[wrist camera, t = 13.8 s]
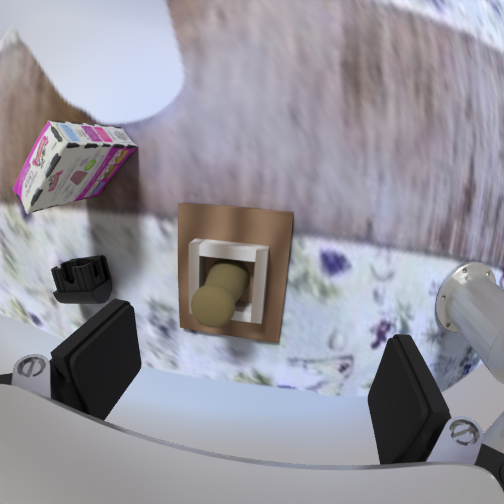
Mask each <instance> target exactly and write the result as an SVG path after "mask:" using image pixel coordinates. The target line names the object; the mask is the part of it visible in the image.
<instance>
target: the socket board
mask: <svg viewBox="0 0 504 504" xmlns="http://www.w3.org/2000/svg"><path fill="white" fill-rule="evenodd" d="M292 222H293V212H288V211H278V210H267V209H257V208H245V207H233V206H221V205H208V204H193V203H179V204H178V288H179V316H180V328H186V329H191V330H197V331H203V332H209V333H215V334H222V335H228V336H235V337H242V338H249V339H257V340H265V341H273V342H278V341H279V334H280V326H281V318H282V311H283V303H284V294H285V286H286V278H287V269H288V260H289V251H290V242H291V232H292ZM221 258H224V259H233V260H240V261H241V262H242V263H244V264H245V266H246V267H247V268H248V270H249V273H250V283H249V286H248V288H247V289H246V290H245V292H244V293H243V294H242V295H241V297H240V298H239V299H238V300H237V302H236V303H235V312H234V315H233V317H232V319H231V320H230V321H229V322H228V323H227V324H225V325H223V326H221V327H216V328H215V327H207V326H205V325H203V324H201V323H200V322H198V321H197V319H196V318H195V317H194V315H193V313H192V310H191V301H192V297H193V295H194V294H195V292H196V291H197V290H198V289H199V288H201V287H202V286H204V284H205V282H206V279H207V277H208V274H209V271H210V269H211V267H212V265H213V264H214V263H215V262H216V261H217V260H219V259H221Z"/></svg>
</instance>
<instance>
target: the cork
mask: <svg viewBox="0 0 504 504" xmlns="http://www.w3.org/2000/svg"><path fill="white" fill-rule="evenodd" d="M249 283H250V273H249V270H248V268H247V267H246V266H245V264H244V263H242V262H241V261H240V260H233V259H224V258H221V259H219V260H217V261H216V262H215V263H214V264H213V265H212V267H211V269H210V271H209V274H208V277H207V279H206V282H205V284H204V286H202V287H201V288H199V289H198V290H197V291H196V292H195V294H194V295H193V297H192V301H191V310H192V313H193V315H194V317H195V318H196V319H197V321H198V322H200V323H201V324H203V325H205V326H207V327H215V328H216V327H221V326H223V325H225V324H227V323H228V322H229V321H230V320H231V319H232V317H233V315H234V312H235V303H236V302H237V300H238V299H239V298H240V297H241V295H242V294H243V293H244V292H245V290H246V289H247V288H248V286H249Z"/></svg>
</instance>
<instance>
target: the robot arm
mask: <svg viewBox="0 0 504 504" xmlns="http://www.w3.org/2000/svg"><path fill="white" fill-rule="evenodd" d="M436 313H437V317H438V319H439V321H440V323H441V324H442V325H443V326H444V328H446V329H447V330H449V331H452V332H460V333H461V334H462V335H463V337H464V338H465V339H466V341H467V342H468V343H469V344H470V346H471V347H472V348H473V350H474V351H475V352H476V354H477V355H478V356H479V358H480V359H481V360H482V362H483V363H484V364H485V366H486V367H487V368H488V370H489V371H490V372H491V374H492V375H493V376H494V378H495V379H496V380H498V381H499V382H501V383H503V384H504V290H503V289H502V288H500V287H499V286H498V285H496V280H495V276H494V274H493V272H492V270H491V269H490V268H489V267H488V266H486V265H485V264H483V263H481V262H477V261H470V262H466V263H464V264H462V265H460V266H458V267H457V268H456V269H454V270H453V271H452V272H451V273H450V274H449V275H448V276H447V278H446V279H445V281H444V282H443V284H442V286H441V288H440V290H439V293H438V296H437V301H436ZM51 356H52V359H51V360H50V361H49V360H48V359H47V358H46V357H45V356H43V355H39V354H32V355H27V356H25V357H22V358H21V359H20V360H18V361H17V362H16V364H15V366H14V368H13V373H10V374H3V375H0V504H504V411H503V413H502V414H501V415H500V416H499V417H498V418H497V419H496V420H495V422H494V423H493V424H492V425H491V426H490V427H489V428H488V429H487V431H486V432H485V433H484V434H483V431H482V428H481V427H480V425H479V424H478V423H477V422H476V421H474V420H473V419H471V418H469V417H465V416H457V417H453V418H452V417H451V415H450V413H449V408H448V406H447V404H446V402H445V400H444V398H443V396H442V394H441V392H440V390H439V388H438V386H437V384H436V382H435V380H434V378H433V376H432V374H431V372H430V370H429V368H428V366H427V365H426V363H425V361H424V359H423V357H422V355H421V353H420V352H419V350H418V348H417V346H416V344H415V343H414V341H413V339H412V337H411V336H410V335H401V334H395V335H394V336H393V338H389V339H388V341H387V344H386V347H385V350H384V353H383V356H382V359H381V362H380V365H379V368H378V370H377V373H376V376H375V378H374V381H373V384H372V386H371V389H370V391H369V394H368V405H369V410H370V414H371V419H372V424H373V429H374V434H375V438H376V443H377V449H378V454H379V460H380V465H347V466H346V465H341V466H340V465H338V466H336V465H306V464H292V463H280V462H271V461H261V460H254V459H247V458H241V457H235V456H228V455H223V454H217V453H213V452H208V451H203V450H199V449H194V448H190V447H186V446H182V445H178V444H174V443H170V442H166V441H163V440H160V439H156V438H153V437H149V436H146V435H143V434H140V433H137V432H134V431H131V430H128V429H125V428H122V427H119V426H117V425H114V424H111V423H109V422H105V421H104V420H105V419H106V417H107V416H108V414H109V413H110V411H111V410H112V409H113V407H114V406H115V404H116V403H117V402H118V400H119V399H120V397H121V396H122V394H123V393H124V392H125V390H126V389H127V388H128V386H129V385H130V383H131V382H132V381H133V379H134V378H135V376H136V375H137V374H138V372H139V370H140V369H141V357H140V350H139V344H138V337H137V329H136V321H135V313H134V308H133V306H131V305H130V303H129V302H128V301H124V300H119V299H114V300H112V301H111V302H110V303H109V304H107V305H106V306H105V307H104V308H102V309H101V310H100V311H99V312H98V313H96V314H95V315H94V316H93V317H92V318H90V319H89V320H88V321H87V322H86V323H84V324H83V325H82V326H81V327H80V328H79V329H77V330H76V331H75V332H74V333H73V334H71V335H70V336H69V337H68V338H67V339H66V340H65V341H63V342H62V343H61V344H60V345H59V346H58V347H57V348H55V349H54V350H53V351H52V352H51Z"/></svg>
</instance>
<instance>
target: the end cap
mask: <svg viewBox="0 0 504 504" xmlns="http://www.w3.org/2000/svg"><path fill="white" fill-rule="evenodd" d="M60 265H61V268H58V267H57V266H56V267H54V268H52V269H51V272H52V275H53V278H54V282H55V285H56V288H57V290H56V291H55V292H53V294H54V296H55V298H56V299H57V300H58V301H59V302H60V303H65V304H102V303H105V302H106V301H107V300H108V299H109V297H110V295H111V290H112V283H111V276H110V272H109V268H108V264H107V261H106V257H105V256H103V255H101V256H93V257H85V258H76V259H71V260H69V261H66V262H64V263H62V264H60Z"/></svg>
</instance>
